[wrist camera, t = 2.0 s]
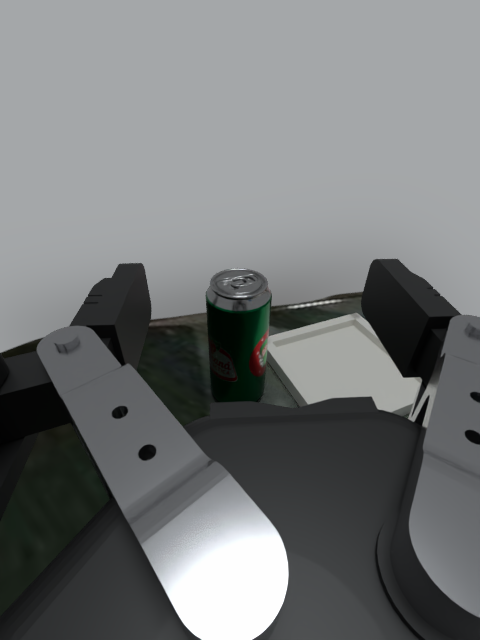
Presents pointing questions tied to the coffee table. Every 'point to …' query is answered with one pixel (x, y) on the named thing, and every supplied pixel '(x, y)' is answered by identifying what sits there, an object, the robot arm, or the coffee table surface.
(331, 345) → the tray
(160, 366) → the coffee table surface
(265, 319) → the soda can
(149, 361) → the coffee table surface
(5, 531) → the coffee table surface
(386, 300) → the robot arm
